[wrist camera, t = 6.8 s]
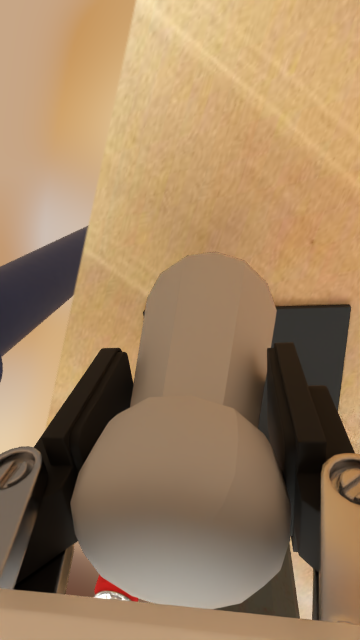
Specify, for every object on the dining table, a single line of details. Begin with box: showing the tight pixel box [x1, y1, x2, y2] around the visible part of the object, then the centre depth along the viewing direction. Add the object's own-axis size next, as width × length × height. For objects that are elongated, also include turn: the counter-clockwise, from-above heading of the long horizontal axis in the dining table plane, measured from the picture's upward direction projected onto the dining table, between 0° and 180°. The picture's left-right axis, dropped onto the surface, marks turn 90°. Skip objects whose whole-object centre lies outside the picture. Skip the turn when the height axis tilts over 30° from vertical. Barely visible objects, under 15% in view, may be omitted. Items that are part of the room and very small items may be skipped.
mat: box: [143, 305, 351, 443], centre depth 38 cm, size 20×20×1 cm
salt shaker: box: [70, 252, 291, 609], centre depth 12 cm, size 6×6×13 cm
